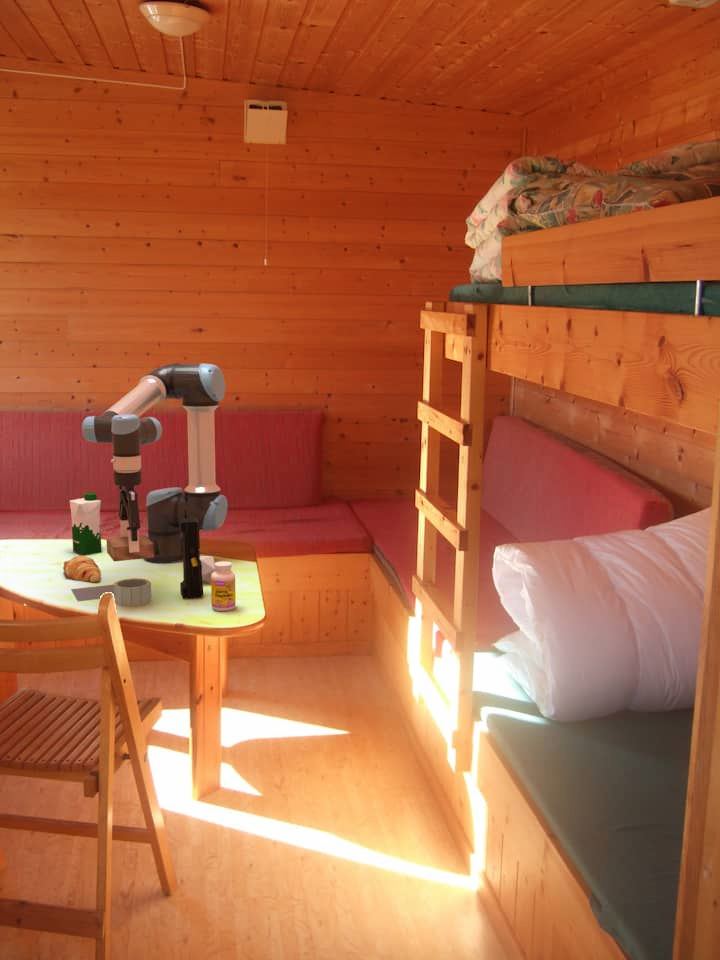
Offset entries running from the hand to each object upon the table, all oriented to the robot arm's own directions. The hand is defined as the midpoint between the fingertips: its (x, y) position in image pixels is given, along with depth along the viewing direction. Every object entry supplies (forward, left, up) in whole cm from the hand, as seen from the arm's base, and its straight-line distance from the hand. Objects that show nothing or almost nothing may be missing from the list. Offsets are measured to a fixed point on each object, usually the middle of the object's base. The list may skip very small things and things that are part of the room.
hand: (130, 547), depth 276 cm
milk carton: (+3, -63, -16) cm, 65 cm away
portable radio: (-17, +1, -16) cm, 24 cm away
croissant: (+9, -32, -16) cm, 37 cm away
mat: (+8, -12, -16) cm, 21 cm away
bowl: (0, 0, -16) cm, 16 cm away
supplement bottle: (-22, +16, -16) cm, 32 cm away
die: (-24, -12, -16) cm, 31 cm away
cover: (0, 0, -2) cm, 2 cm away
